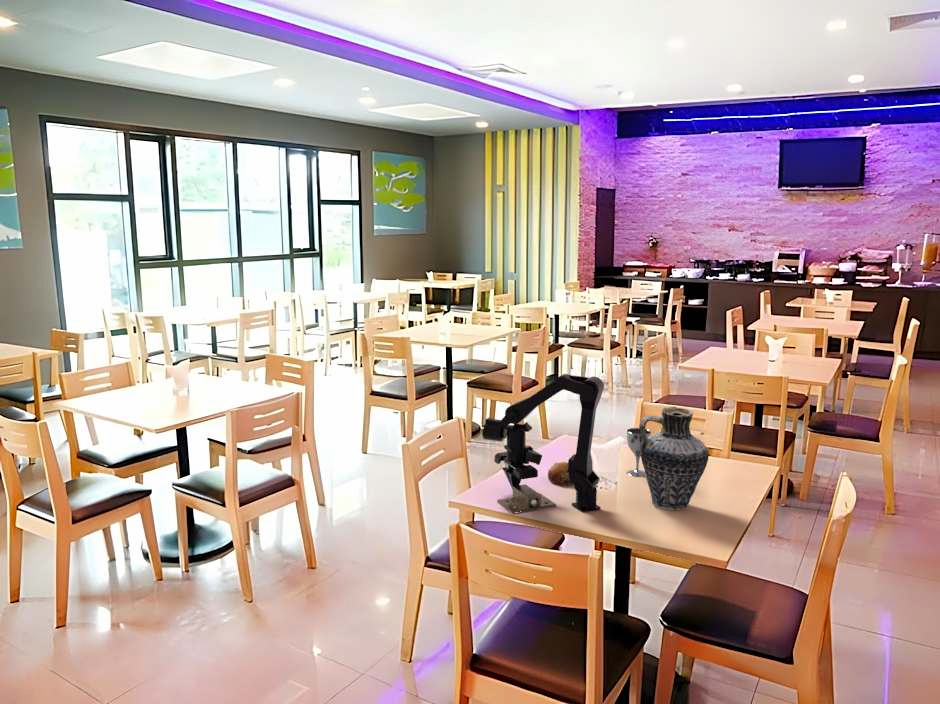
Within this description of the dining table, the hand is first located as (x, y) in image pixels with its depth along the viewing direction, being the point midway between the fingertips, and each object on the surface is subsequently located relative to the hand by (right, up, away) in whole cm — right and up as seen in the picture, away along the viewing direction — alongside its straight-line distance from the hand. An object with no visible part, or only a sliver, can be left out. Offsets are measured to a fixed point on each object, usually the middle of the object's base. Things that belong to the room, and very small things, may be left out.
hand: (515, 491), depth 237 cm
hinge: (+3, -3, -7) cm, 8 cm away
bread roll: (+17, 0, +15) cm, 22 cm away
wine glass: (+43, +2, +22) cm, 49 cm away
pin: (+3, -3, -7) cm, 8 cm away
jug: (+46, -3, -7) cm, 47 cm away
